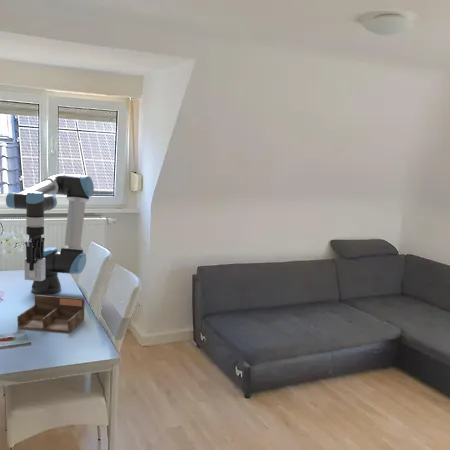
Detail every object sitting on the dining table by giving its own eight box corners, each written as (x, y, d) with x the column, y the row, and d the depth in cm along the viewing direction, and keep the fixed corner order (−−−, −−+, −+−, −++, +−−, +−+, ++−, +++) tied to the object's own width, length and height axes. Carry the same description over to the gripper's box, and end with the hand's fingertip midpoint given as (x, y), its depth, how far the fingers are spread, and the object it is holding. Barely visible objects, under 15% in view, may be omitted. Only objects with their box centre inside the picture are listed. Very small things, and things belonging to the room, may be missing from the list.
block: (29, 277, 229) (29, 256, 227) (45, 279, 228) (45, 258, 226) (24, 279, 225) (24, 258, 223) (41, 281, 224) (41, 259, 222)
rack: (35, 315, 230) (35, 294, 228) (84, 319, 228) (84, 298, 226) (17, 328, 213) (17, 306, 212) (69, 332, 211) (69, 310, 210)
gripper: (36, 222, 231) (36, 271, 235) (17, 227, 214) (17, 279, 218) (51, 223, 230) (51, 272, 234) (33, 229, 214) (33, 281, 217)
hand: (35, 275), depth 226 cm, fingers closed on block, 4 cm apart
